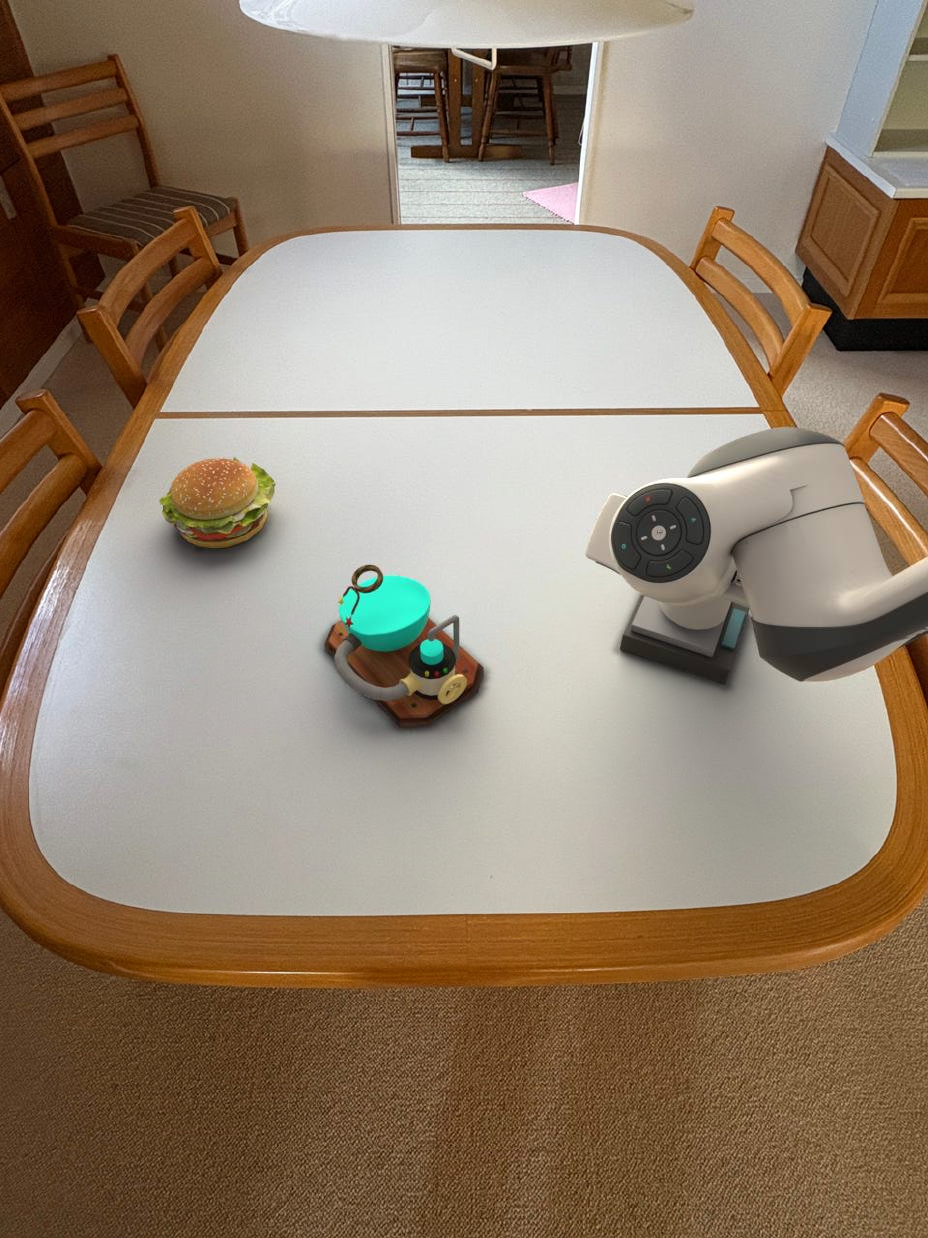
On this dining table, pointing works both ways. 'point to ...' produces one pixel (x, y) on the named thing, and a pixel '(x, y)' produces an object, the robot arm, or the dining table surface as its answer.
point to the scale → (684, 640)
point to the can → (698, 614)
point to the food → (218, 502)
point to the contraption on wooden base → (400, 650)
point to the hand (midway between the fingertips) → (700, 572)
